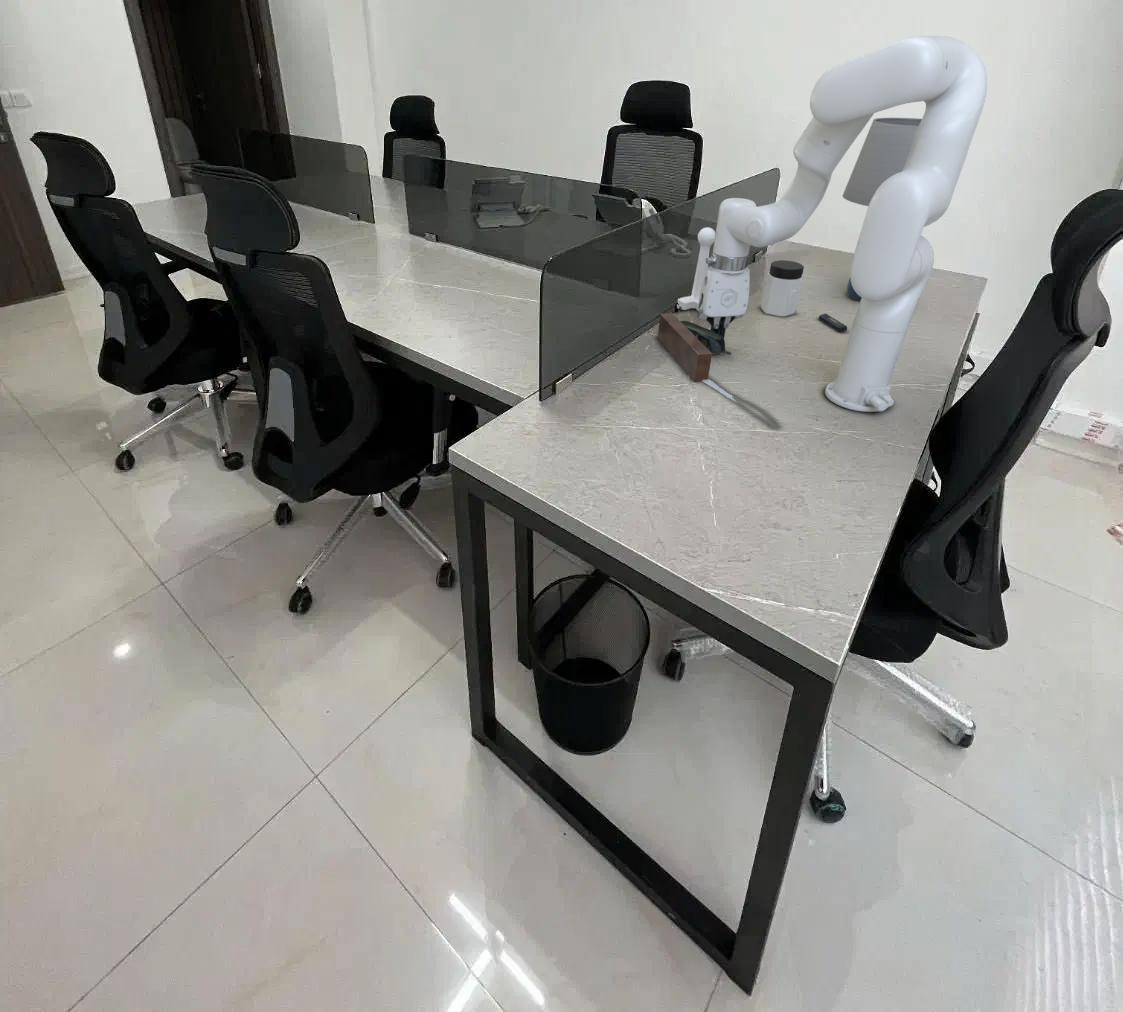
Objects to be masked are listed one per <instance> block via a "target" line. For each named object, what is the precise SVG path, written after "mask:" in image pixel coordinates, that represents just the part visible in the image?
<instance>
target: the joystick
mask: <svg viewBox="0 0 1123 1012" xmlns="http://www.w3.org/2000/svg"><path fill="white" fill-rule="evenodd" d="M715 234H716V230H714V229H713V228H712V227H709V226H707V227H706V226H705V227H702V229H700V230H699V232H698V234H697V242H698V243H699V246H700V247H699V253H698V259H697V262H696V263H697V264H696V269H695V274H694V279H693V284H692V290H691V295H689V296H683V297H680V298H677V303H678V304H679V305H678V304H677V303H676V309H678V310H683V311H686V310H690V309H696V311H697V312H699V308H698V305H699V297H700V292H701V288H702V284H703V280H704V277H705V274H706V271H707V269H708V267H709V264H706V258H707V257H710V250H711V249H710V248H711V246H712V245H714V241H715Z"/></svg>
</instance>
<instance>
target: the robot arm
mask: <svg viewBox="0 0 1123 1012" xmlns="http://www.w3.org/2000/svg"><path fill="white" fill-rule="evenodd" d="M987 77H988V76H987V70H986V67H985V64H984V62H983V60H982V58H981V57H980V55H979V53H977V52H976V51H975V49H974V48H973V47H971V46H970V45H969V44H967V43H966V42H964V41H962V40H961V39H959V38H955V37H952V36H946V35H945V36H944V35H916V36H910V37H907V38H903V39H900V40H897V41H895V42H893V43H889V44H886V45H885V46H883V47H880V48H877V49H875V50H872V51H870V52H867V53H865V54H862V55H859V56H856V57H854V58H852V59H849V60H847V61H844V62H842V63H839V64H836V65H833V66H832V67H831V68H829V69H827V70H826V71H825V72H824V73H823V74H821V76H820V77H819V79H817V81H816V82H815V84H814V86H813V89H812V91H811V95H810V100H809V108H810V112H811V116H813V117H812V118H811V119H810V121H809V123H808V124H807V126H805V127H806V128H805V129H804V130H803V132H802V134H801V135H800V137H799V138H798V139H797V141H796V143H795V144H794V147H793V150H792V151H793V157H794V159H795V160H796V161H797V168H796V169H797V170H796V173H795V175H794V177H793V179H792V180H791V182H790V184H789V186H788V187H787V188H786V191H785V192H784V193H783V195H782V196H781V197H780V199H779V200H778V201H776V202H773V203H769V204H765V205H760V206H757V204H756V203H755V201H754V200H751V199H748V198H741V197H730V198H725V199H724V200H722V201H721V203H720V204H719V209H718V213H717V214H718V215H717V223H716V228H715V241H714V243H713V248H712V252H711V255H709V257H707V258H706V264H708V269H707V271H706V274H705V277H704V280H703V284H702V288H701V292H700V297H699V305H698V308H699V312H698V311H697V312H698V313H697V315H696V317H697V318H698V320H700V321H703V322H708V323H709V325H710V330H712V331H713V332H715V333H717V334H720V335H721V336H722V337H723V338H724V339H725V336H726V330H727V328H729V326H730V324H731V323H732V322H733V321H735V320H739V319H741V318H743V317H744V315H745V314H746V313H747V309H748V305H749V298H750V297H749V296H750V284H751V278H750V277H751V273H750V268H748V267H747V265H748V259H749V254H750V249H751V247H755V248H765V247H768V246H772V245H775V244H777V243H780V242H783V241H786V240H789V239H791V238H792V237H794V236H795V235H796V234H797V233H799V232H800V230H802V228H803V227H804V226H805V224H806V223H807V222H808V221H809V219H810V218H811V217H812V215H813V214H814V212H815V211H816V210H817V208H818V207H819V205H820V203H821V202H822V200H823V199H824V196H825V194H826V193H827V189H828V187H829V184H830V183H831V180H832V175H833V172H834V171H835V169H836V168H837V166H838V165H839V163H840V162H841V161H842V160H843V158H844V157H845V155H846V153H847V152H848V151H849V149H850V147H851V146H852V145H853V143H854V142H855V140H857V138H858V137H859V135H860V134H861V133H862V131H863V130H864V128H865V127H866V126H867V124H868V123H869V121H870V120H871V119H872V117H873V116H874V114H876V113H878V112H882V111H885V110H889V109H892V108H895V107H899V106H902V105H906V104H911V103H919V102H923V103H924V104H925V110H924V113H923V116H922V118H921V119H922V120H921V122H920V124H919V126H918V128H917V130H916V132H915V135H914V138H913V141H912V145H911V148H910V152H909V154H908V157H907V160H906V163H905V166H904V168H903V170H902V172H899V173H897V174H895V175H893V176H891V177H889V178H888V179H887V180H885V181H884V182H883V183H882V184H881V185H880V186H879V188H878V189H877V190H876V192H875V194H874V195H873V197H872V199H871V201H870V204H869V206H867V209H866V213H865V215H864V219H863V223H862V227H861V229H860V233H859V236H858V239H857V243H856V246H855V250H854V253H853V256H852V260H851V265H850V271H849V278H850V279H851V284H852V287H853V289H854V290H855V292H856V293H857V294H858V295H859V296H860V297H862V298H861V301H859V303H858V306H857V310H856V313H855V316H854V319H853V322H852V326H851V329H850V332H849V337H848V339H847V343H846V346H845V350H844V353H843V357H842V360H841V363H840V366H839V369H838V373H837V377H836V379H835V380H833V381H831V382H829V383H827V385H826V386H825V390H824V395H825V396H826V398H827V399H828V401H830V402H832V404H833V403H834V404H835V405H837V406H839V407H842V408H844V409H848V410H852V411H855V412H864V413H876V412H885V411H886V409H888V408H890V407H892V406H893V405H894V404H895V400H894V399H893V398H892V395H891V394H890V390H891V388H892V387H891V386H890V385H889V384H890V381H891V377H892V375H893V372H894V369H895V366H896V363H897V361H898V358H899V355H900V352H901V350H902V346H903V343H904V341H905V337H906V335H907V332H908V330H909V327H910V324H911V321H912V318H913V316H914V313H915V310H916V308H917V305H918V302H919V300H920V298H921V296H922V294H923V291H924V290H925V287H926V285H927V283H928V281H929V279H930V276H931V274H932V271H933V267H934V263H935V253H934V248H933V246H932V244H931V242H930V241H929V240H928V239H927V238H926V237H925V236H923V235H922V234H923V232H924V228H925V227H927V226H930V225H932V224H933V223H936V222H937V221H939V219H941V217H943V216H944V214H945V213H946V212H947V210H948V209H949V206H950V203H951V201H952V198H953V196H954V192H955V189H956V186H957V184H958V181H959V179H960V175H961V173H962V170H963V167H964V164H965V162H966V159H967V156H968V152H969V149H970V145H971V144H972V140H973V138H974V134H975V132H976V130H977V126H978V124H979V121H980V118H981V114H982V112H983V109H984V105H985V103H986V97H987V91H988V78H987ZM709 265H710V266H709Z"/></svg>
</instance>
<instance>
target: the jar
mask: <svg viewBox="0 0 1123 1012" xmlns="http://www.w3.org/2000/svg"><path fill="white" fill-rule="evenodd" d="M769 267H770V268H769V272H767V274H766V279H765V283H764V289H763V294H762V299H761V303H760V308H761V310H762V311H763V312H764V313H765V315H771V316H777V317H786V316H791V315H794V314H795V313H796V311H797V310H796V309H797V305H798V300H799V297H800V293H801V288H802V284H803V279H804V278H803V274H804V269H805V267H804V265H803V264H802V263H800V262H797V261H794V260H793V261H792V260H787V259H786V260H781V259H780V260H774V261H772V262H771V263H770V266H769Z"/></svg>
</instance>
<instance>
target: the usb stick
mask: <svg viewBox="0 0 1123 1012" xmlns="http://www.w3.org/2000/svg"><path fill="white" fill-rule="evenodd" d="M818 319H819V320H820V321H822V322H824V323H825V324H826V325H828V326H830V327H831V328H833V329H834V330H837V331H838V332H840V333H841V332H842V333H843V332H846V331H847V330H848V326H847V325H846V324H844V323H842V322H841V321H839V320H837V319H836V318H834V317H832V316H831V315H829V314H828V313H821V314H820V315H819V316H818Z"/></svg>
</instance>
